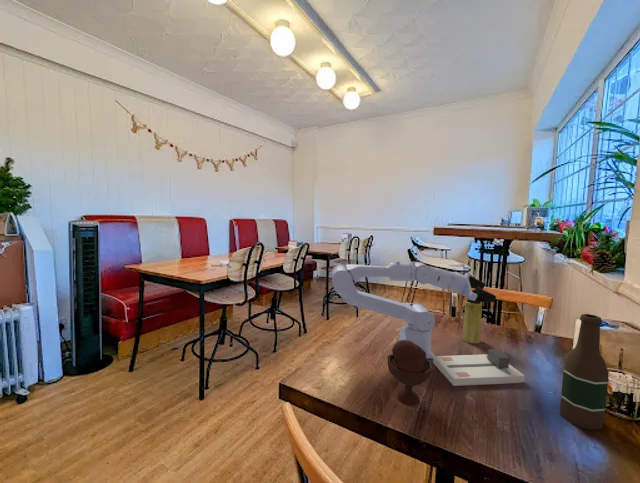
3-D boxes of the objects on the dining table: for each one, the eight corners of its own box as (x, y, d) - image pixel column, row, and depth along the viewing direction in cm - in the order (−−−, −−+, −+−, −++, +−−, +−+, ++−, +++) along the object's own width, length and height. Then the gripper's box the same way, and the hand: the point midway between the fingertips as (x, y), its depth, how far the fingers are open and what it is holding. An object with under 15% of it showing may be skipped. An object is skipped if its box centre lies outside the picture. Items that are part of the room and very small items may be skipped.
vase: (479, 345, 102) (482, 305, 100) (460, 340, 105) (462, 302, 104) (482, 339, 107) (484, 301, 105) (463, 335, 110) (466, 298, 109)
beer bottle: (594, 436, 61) (607, 325, 59) (551, 413, 68) (560, 313, 66) (610, 424, 65) (623, 318, 62) (567, 403, 72) (577, 307, 69)
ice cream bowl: (426, 419, 66) (429, 355, 64) (379, 401, 72) (381, 343, 70) (436, 394, 75) (439, 337, 73) (393, 380, 81) (395, 328, 79)
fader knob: (498, 368, 83) (499, 358, 83) (487, 359, 88) (487, 349, 88) (508, 367, 83) (509, 357, 83) (496, 358, 88) (497, 349, 88)
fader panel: (453, 385, 79) (454, 378, 78) (432, 362, 90) (433, 356, 90) (524, 382, 80) (524, 375, 80) (494, 360, 92) (495, 353, 92)
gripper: (461, 280, 85) (506, 294, 85) (446, 260, 99) (484, 271, 99) (451, 300, 88) (494, 313, 88) (437, 278, 101) (475, 289, 102)
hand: (488, 292), depth 94 cm, fingers open, 7 cm apart
